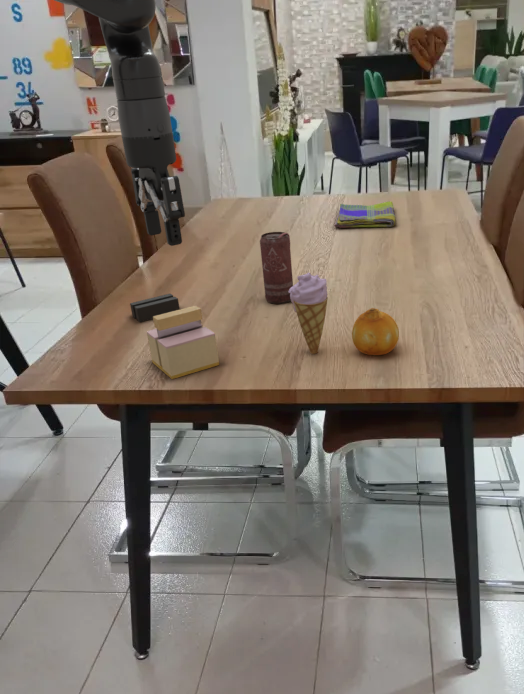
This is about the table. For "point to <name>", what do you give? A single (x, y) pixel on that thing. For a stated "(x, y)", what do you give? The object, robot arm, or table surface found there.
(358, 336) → the fruit
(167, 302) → the stand
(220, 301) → the table surface
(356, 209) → the dish towel
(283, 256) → the can
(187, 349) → the slotted cream block
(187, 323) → the scraper
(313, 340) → the ice cream cone
